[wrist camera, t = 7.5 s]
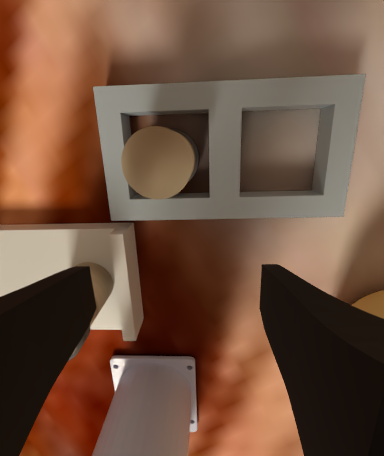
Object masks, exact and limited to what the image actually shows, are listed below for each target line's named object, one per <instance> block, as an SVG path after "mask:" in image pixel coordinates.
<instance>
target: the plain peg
mask: <svg viewBox="0 0 384 456" xmlns="http://www.w3.org/2000/svg"><path fill="white" fill-rule="evenodd" d="M76 266H90V272H91V278H92V284H93V289H94V295H95V301H96V307H97V308H96V311H95V313H94V316H93V318H92V320H91V322H90V325H89V327H88V329H87V331H86V332H85V334H84V336H83V337H82V339H81V341H80V342H79V344H78V346H77V347H76V349H75V350H74V352H73V354H72V355H71V357H70V358H69V360H70V359H72V358H73V357H75V356H76V355H77V353H78V352H79V350H80V349H81V347H82V345H83V344H84V342H85V340H86V339H87V337H88V335H89V333H90V326H91V325H92V323H93V322H94V320H95V318H96V317H97V315H98V314H99V312H100V310H101V309H102V307H103V306H104V304H105V303H106V301H107V299H108V298H109V296H110V295H111V293H112V291H113V279H112V277H111V275H110V273H109V272H108V271H107V270H106V269H105V268H104V267H102V266H100V265H98V264H96V263H92V262H84V263H80V264H78V265H76ZM69 360H68V361H69Z"/></svg>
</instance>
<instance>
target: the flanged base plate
mask: <svg viewBox="0 0 384 456" xmlns="http://www.w3.org/2000/svg"><path fill="white" fill-rule="evenodd" d="M84 262H92V263H96V264H98V265H100V266H102V267H104V268H105V269H106V270H107V271H108V272H109V273H110V275H111V277H112V279H113V291H112V293H111V295H110V296H109V298H108V299H107V301H106V303H105V304H104V306H103V307H102V309H101V310H100V312H99V314H98V315H97V317H96V318H95V320H94V322H93V323H92V325H91V326H90V329H110V330H122V334H123V341H136V339H137V336H138V333H139V331H140V328H141V325H142V322H143V319H144V315H143V306H142V297H141V287H140V278H139V268H138V259H137V250H136V240H135V231H134V223H75V224H14V225H0V297H1V296H4V295H6V294H8V293H11V292H13V291H16V290H18V289H21V288H23V287H26V286H28V285H30V284H32V283H35V282H37V281H39V280H42V279H44V278H46V277H48V276H51V275H53V274H55V273H58V272H60V271H63V270H65V269H68V268H71V267H75V266H76V265H78V264H80V263H84Z"/></svg>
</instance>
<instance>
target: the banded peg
mask: <svg viewBox="0 0 384 456" xmlns="http://www.w3.org/2000/svg"><path fill="white" fill-rule="evenodd" d="M198 163H199V153H198V149H197V146H196V144H195V142H194V141H193V140H192V139H191V137H190V136H188V135H187V134H186V133H184V132H182V131H180V130H178V129H174V128H164V127H160V126H150V127H146V128H143V129H140V130H139V131H137V132H135V133H134V134H133V135H132V136H131V137H130V138H129V139H128V141H127V142H126V144H125V146H124V149H123V152H122V157H121V165H122V171H123V174H124V176H125V179H126V180H127V182H128V184H129V185H130V186H131V187H132V188H133V189H134V190H135V191H136V192H137V193H139V194H140V195H142V196H144V197H147V198H150V199H166V198H169V197H172V196H174V195H176V194H177V193H179V192H180V191H181V190H182V189H183V188H184V187H185V185H186V184H187V182H189V181H190V180H191V179H192V177H193V176H194V174H195V172H196V170H197V167H198Z"/></svg>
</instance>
